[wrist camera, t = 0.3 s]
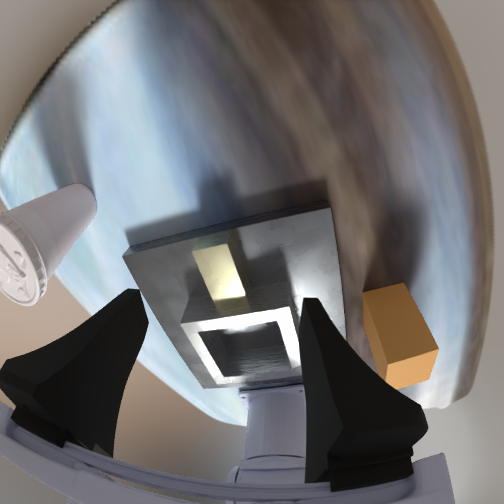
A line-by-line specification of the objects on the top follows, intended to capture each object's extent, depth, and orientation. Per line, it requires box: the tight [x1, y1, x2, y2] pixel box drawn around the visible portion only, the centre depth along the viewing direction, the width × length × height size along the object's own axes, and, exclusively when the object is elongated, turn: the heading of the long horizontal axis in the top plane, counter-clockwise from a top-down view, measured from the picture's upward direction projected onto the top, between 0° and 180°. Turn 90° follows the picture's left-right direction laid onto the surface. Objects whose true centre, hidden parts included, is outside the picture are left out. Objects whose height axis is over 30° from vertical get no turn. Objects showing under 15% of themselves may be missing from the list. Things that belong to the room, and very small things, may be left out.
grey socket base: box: [122, 200, 346, 389], centre depth 23 cm, size 18×16×4 cm
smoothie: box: [0, 183, 97, 306], centre depth 14 cm, size 6×6×14 cm
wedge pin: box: [362, 282, 439, 389], centre depth 20 cm, size 4×4×8 cm
